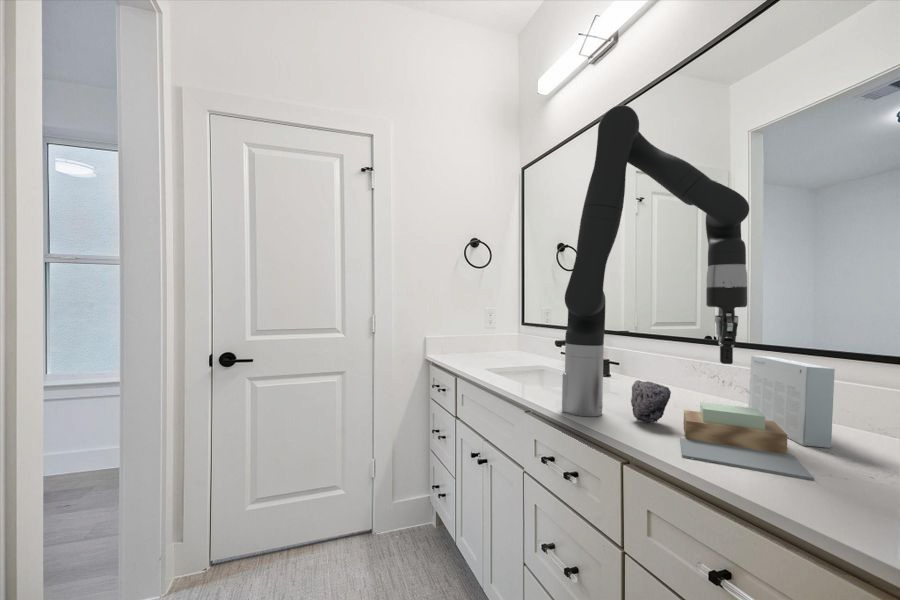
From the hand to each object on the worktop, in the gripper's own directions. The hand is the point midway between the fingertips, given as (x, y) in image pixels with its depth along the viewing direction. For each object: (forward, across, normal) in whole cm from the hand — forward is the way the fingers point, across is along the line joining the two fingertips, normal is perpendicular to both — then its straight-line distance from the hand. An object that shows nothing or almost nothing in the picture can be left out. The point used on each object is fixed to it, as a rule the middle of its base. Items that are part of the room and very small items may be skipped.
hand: (726, 363), depth 89 cm
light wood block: (+15, +8, 0) cm, 17 cm away
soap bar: (+11, +8, 0) cm, 14 cm away
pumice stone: (+15, +4, -15) cm, 22 cm away
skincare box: (+15, -6, +12) cm, 20 cm away
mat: (+15, +19, 0) cm, 24 cm away
